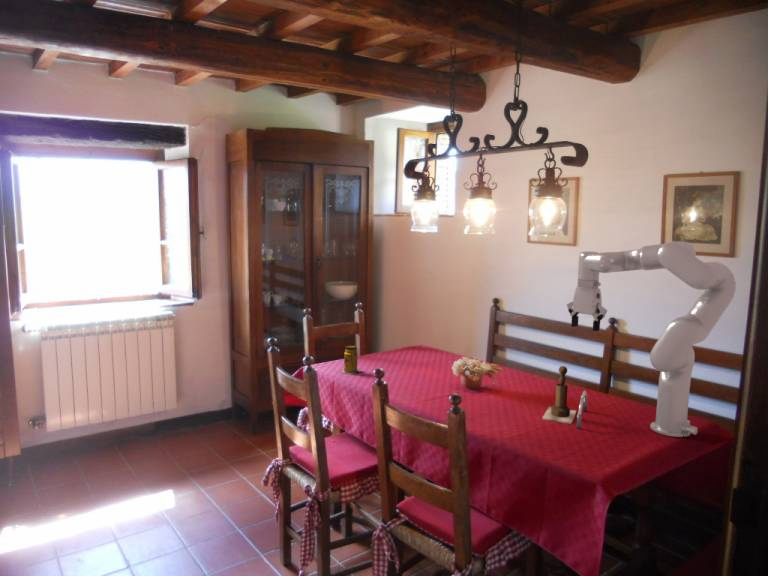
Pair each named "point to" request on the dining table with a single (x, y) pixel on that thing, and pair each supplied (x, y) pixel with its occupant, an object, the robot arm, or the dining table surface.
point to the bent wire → (581, 408)
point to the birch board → (559, 419)
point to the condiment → (350, 360)
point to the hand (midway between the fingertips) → (585, 328)
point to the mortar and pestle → (561, 396)
